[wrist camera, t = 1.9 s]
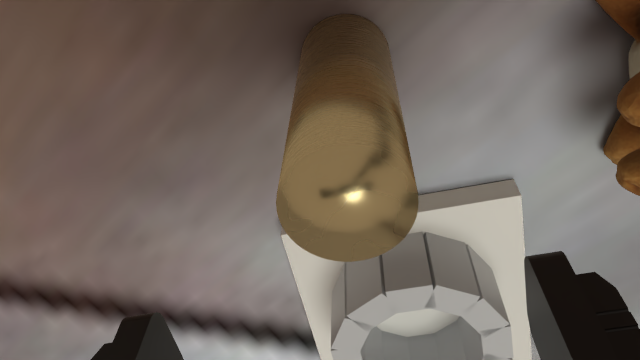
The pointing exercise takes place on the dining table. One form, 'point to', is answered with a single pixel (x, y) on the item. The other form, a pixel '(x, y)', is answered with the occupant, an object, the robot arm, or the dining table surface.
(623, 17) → the stuffed squirrel
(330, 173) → the brass cylinder
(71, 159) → the dining table surface
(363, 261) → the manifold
